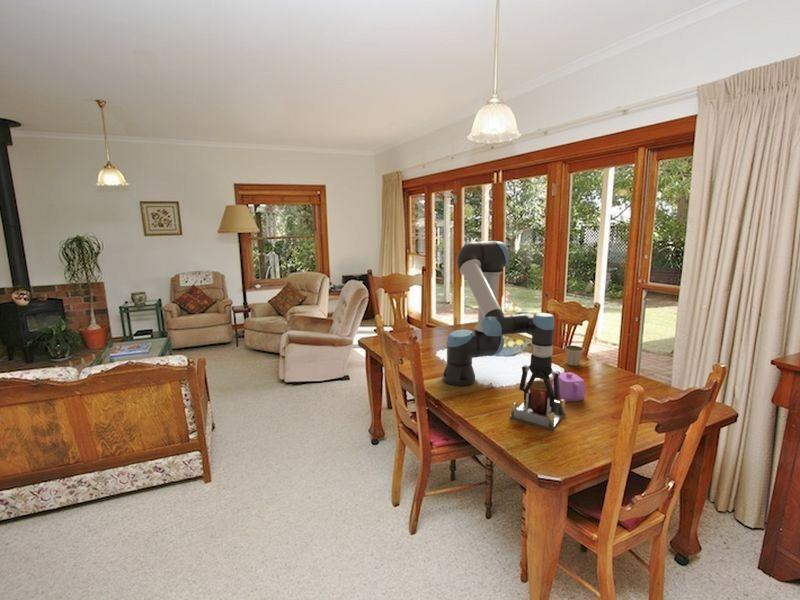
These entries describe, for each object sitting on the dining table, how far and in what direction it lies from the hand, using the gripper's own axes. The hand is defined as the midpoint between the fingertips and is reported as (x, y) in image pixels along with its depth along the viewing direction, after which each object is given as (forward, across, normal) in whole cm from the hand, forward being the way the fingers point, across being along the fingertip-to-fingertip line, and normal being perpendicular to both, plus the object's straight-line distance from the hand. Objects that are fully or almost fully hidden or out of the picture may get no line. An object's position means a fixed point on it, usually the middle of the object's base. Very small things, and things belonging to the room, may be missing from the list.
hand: (537, 410), depth 159 cm
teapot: (+2, +4, +26) cm, 26 cm away
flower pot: (+2, -4, +67) cm, 67 cm away
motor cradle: (+2, 0, 0) cm, 2 cm away
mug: (0, +1, 0) cm, 1 cm away
